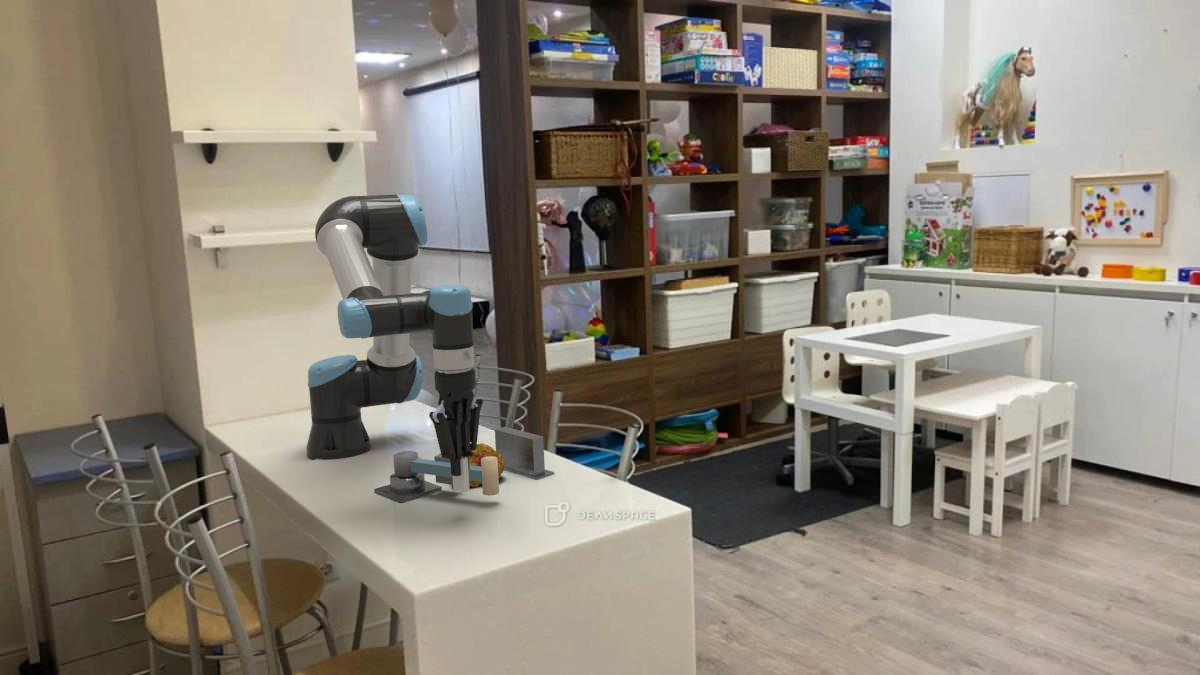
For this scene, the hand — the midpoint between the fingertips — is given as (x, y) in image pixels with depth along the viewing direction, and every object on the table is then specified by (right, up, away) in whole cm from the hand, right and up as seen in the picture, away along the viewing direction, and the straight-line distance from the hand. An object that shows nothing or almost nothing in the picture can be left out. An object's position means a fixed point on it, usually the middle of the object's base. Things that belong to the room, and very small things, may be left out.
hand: (461, 490), depth 168 cm
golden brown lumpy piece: (+4, -2, +22) cm, 22 cm away
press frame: (-2, -2, +20) cm, 21 cm away
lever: (-5, -1, +12) cm, 13 cm away
